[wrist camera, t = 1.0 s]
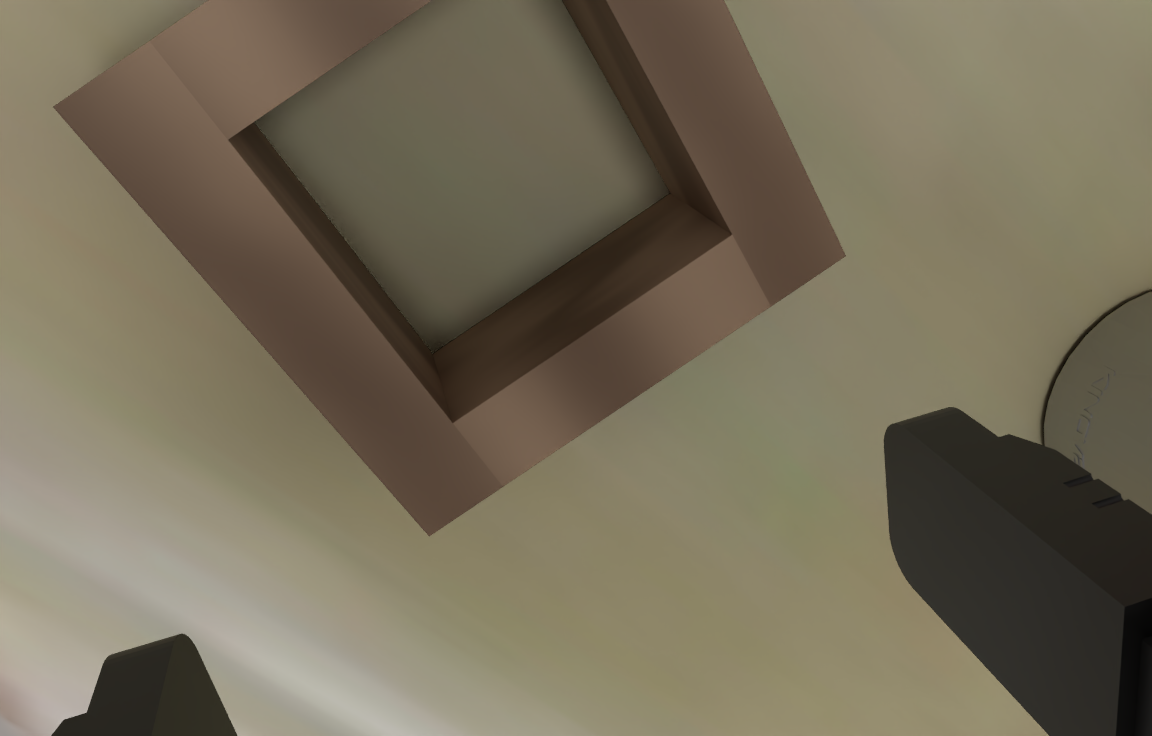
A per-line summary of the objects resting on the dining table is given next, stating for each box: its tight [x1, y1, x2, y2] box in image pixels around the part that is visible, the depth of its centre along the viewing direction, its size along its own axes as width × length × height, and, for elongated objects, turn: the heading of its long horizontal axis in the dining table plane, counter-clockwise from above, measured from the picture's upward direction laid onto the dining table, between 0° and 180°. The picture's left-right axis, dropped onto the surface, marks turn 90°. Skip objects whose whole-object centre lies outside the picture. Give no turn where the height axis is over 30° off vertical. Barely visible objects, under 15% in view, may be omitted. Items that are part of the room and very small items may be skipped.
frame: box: [54, 0, 846, 536], centre depth 26 cm, size 14×14×5 cm
